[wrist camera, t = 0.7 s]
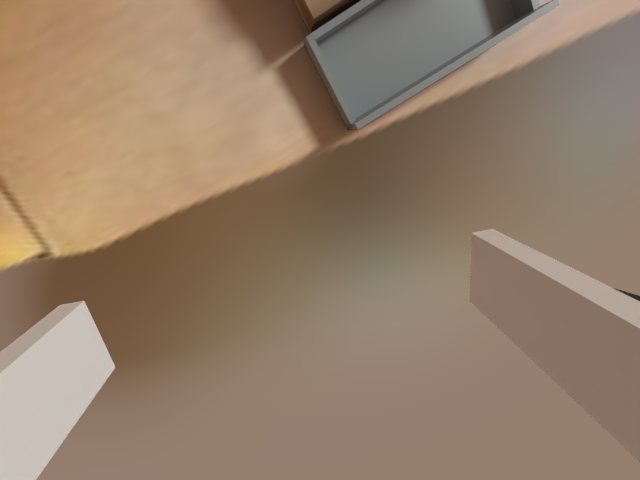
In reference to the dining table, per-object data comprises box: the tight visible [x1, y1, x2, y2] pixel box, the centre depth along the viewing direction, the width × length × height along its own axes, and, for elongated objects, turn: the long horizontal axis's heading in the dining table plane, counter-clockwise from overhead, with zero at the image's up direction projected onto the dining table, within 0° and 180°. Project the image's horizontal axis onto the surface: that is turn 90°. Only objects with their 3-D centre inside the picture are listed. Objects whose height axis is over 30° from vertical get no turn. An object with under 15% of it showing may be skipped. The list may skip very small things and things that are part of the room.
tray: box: [304, 0, 559, 130], centre depth 29 cm, size 9×20×5 cm, turn 121°
